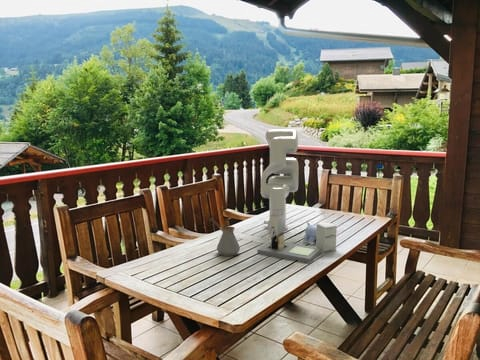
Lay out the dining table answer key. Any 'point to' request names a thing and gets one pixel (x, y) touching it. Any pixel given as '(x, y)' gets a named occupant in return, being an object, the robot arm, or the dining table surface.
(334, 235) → the supplement box
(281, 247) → the maple block
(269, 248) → the puzzle board
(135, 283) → the dining table surface
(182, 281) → the dining table surface
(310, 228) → the hippopotamus toy
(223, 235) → the coffee pot
